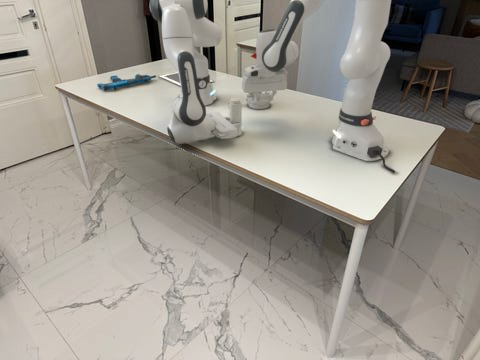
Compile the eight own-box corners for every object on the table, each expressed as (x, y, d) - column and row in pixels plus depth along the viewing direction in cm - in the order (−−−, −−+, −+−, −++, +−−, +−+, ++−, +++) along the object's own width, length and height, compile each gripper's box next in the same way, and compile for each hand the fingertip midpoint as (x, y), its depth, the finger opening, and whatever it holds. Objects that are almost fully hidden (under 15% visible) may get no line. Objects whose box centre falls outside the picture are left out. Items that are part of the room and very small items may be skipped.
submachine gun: (141, 68, 224) (160, 75, 207) (142, 74, 226) (161, 81, 209) (89, 78, 205) (105, 86, 189) (91, 85, 207) (107, 93, 191)
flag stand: (265, 99, 183) (267, 40, 167) (275, 107, 173) (279, 45, 156) (242, 102, 179) (242, 42, 163) (252, 111, 169) (253, 48, 152)
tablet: (158, 76, 219) (158, 76, 219) (185, 70, 230) (185, 70, 230) (186, 88, 199) (186, 87, 198) (213, 81, 210) (213, 81, 209)
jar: (239, 130, 150) (239, 96, 142) (242, 135, 146) (242, 100, 138) (228, 131, 149) (228, 97, 141) (231, 136, 145) (230, 101, 137)
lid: (254, 99, 154) (255, 95, 153) (264, 96, 157) (264, 93, 156) (263, 103, 150) (263, 99, 149) (273, 100, 153) (273, 96, 152)
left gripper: (217, 130, 130) (248, 123, 135) (198, 112, 146) (227, 106, 151) (217, 144, 134) (248, 137, 139) (199, 125, 149) (227, 120, 154)
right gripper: (285, 66, 151) (283, 96, 158) (241, 69, 146) (240, 99, 154) (290, 70, 146) (287, 101, 153) (244, 73, 141) (244, 104, 149)
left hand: (237, 121), depth 145 cm, fingers closed on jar, 5 cm apart
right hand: (263, 100), depth 154 cm, fingers closed on lid, 5 cm apart
